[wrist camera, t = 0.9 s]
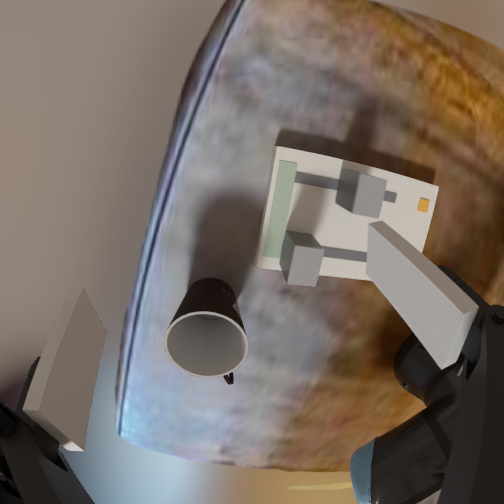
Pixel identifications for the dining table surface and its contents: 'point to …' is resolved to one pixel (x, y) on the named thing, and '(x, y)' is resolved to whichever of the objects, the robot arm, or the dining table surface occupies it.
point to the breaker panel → (335, 211)
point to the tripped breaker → (361, 193)
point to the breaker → (301, 258)
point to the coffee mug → (207, 332)
